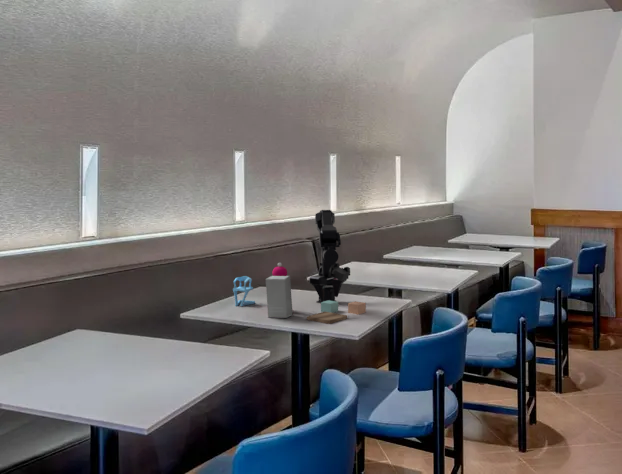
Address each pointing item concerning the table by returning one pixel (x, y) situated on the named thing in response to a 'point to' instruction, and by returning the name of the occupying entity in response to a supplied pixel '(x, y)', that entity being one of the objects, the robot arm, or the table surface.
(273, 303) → the skincare box
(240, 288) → the chair
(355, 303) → the tan brick
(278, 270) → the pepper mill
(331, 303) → the teal brick
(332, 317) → the walnut board
